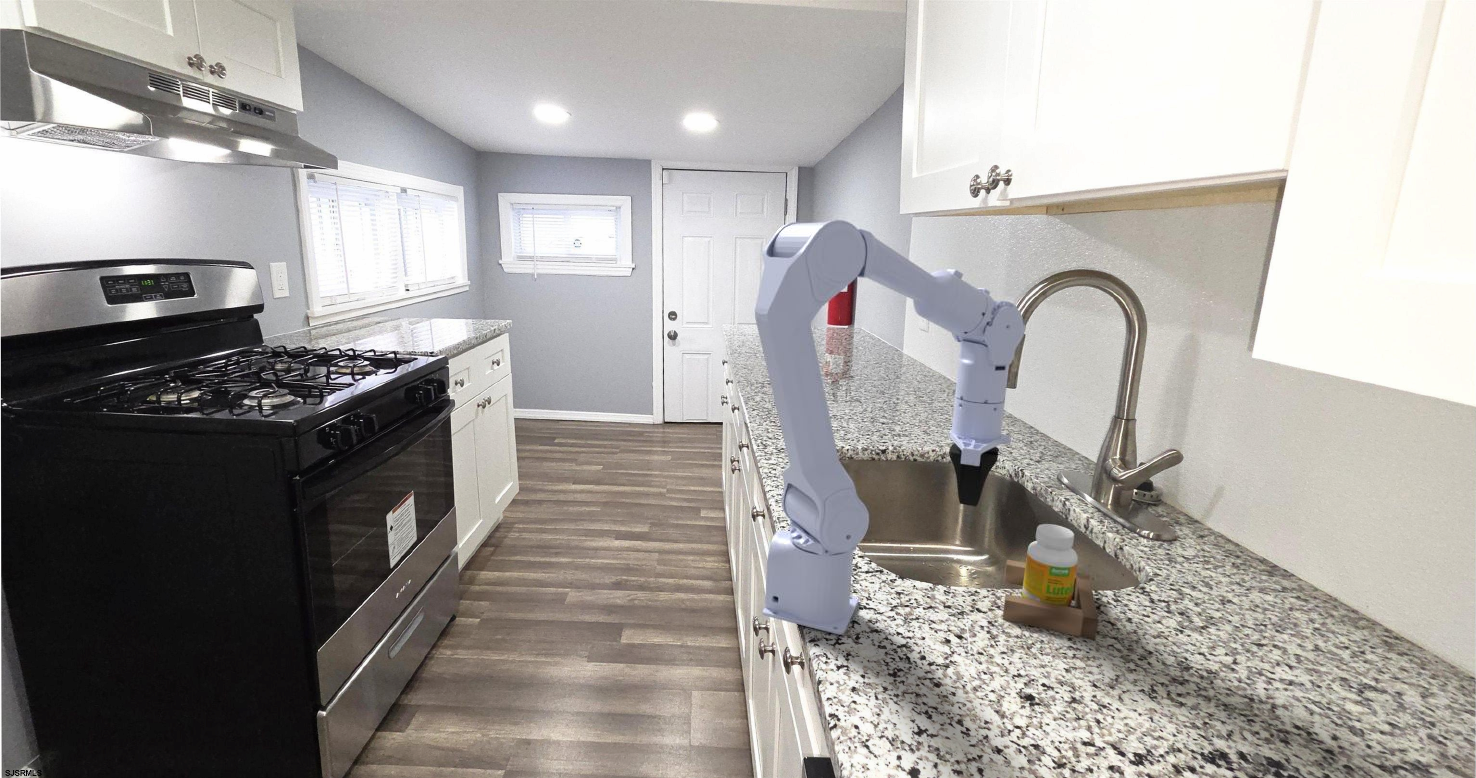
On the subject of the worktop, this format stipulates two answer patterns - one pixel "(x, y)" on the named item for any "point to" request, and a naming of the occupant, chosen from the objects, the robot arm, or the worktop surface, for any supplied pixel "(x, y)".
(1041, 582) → the supplement bottle
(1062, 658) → the worktop surface
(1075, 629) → the wooden u-shaped bracket
